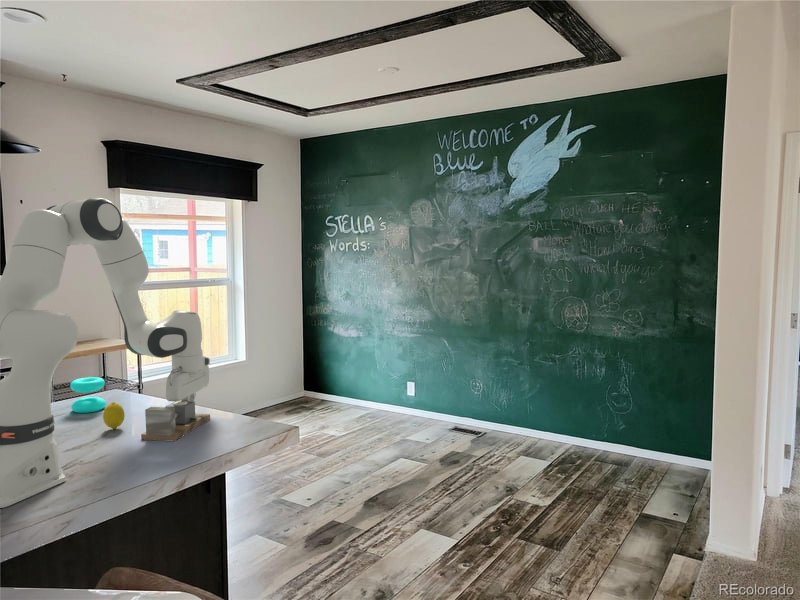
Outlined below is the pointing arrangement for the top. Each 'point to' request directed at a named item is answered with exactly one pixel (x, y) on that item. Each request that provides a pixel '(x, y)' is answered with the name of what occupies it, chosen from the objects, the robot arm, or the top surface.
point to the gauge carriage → (183, 411)
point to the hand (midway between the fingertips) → (189, 408)
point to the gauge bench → (179, 429)
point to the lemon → (113, 415)
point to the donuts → (89, 402)
